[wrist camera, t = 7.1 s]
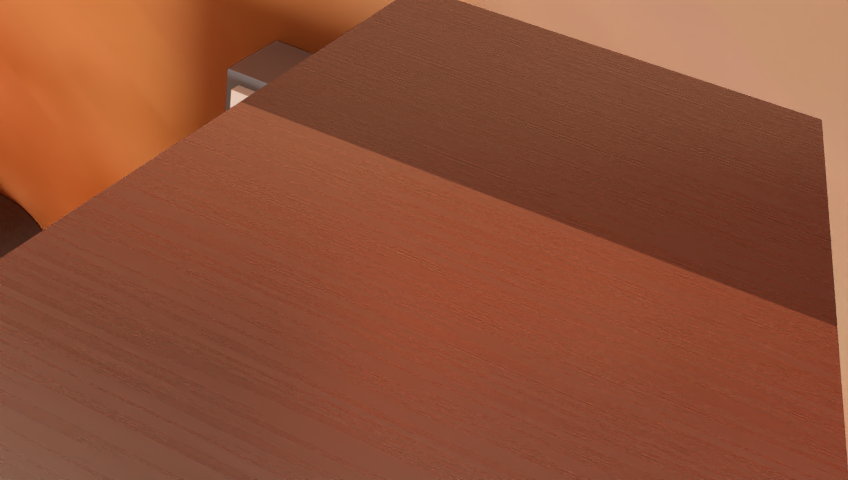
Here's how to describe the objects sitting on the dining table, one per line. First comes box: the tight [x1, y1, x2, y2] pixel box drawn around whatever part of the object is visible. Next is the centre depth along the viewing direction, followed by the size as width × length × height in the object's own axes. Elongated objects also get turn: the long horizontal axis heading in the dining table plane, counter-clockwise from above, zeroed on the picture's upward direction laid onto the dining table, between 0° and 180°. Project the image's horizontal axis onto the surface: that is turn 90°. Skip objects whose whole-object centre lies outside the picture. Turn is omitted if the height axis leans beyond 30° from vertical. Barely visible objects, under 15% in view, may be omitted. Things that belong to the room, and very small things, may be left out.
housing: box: [0, 0, 848, 480], centre depth 8 cm, size 5×7×8 cm
